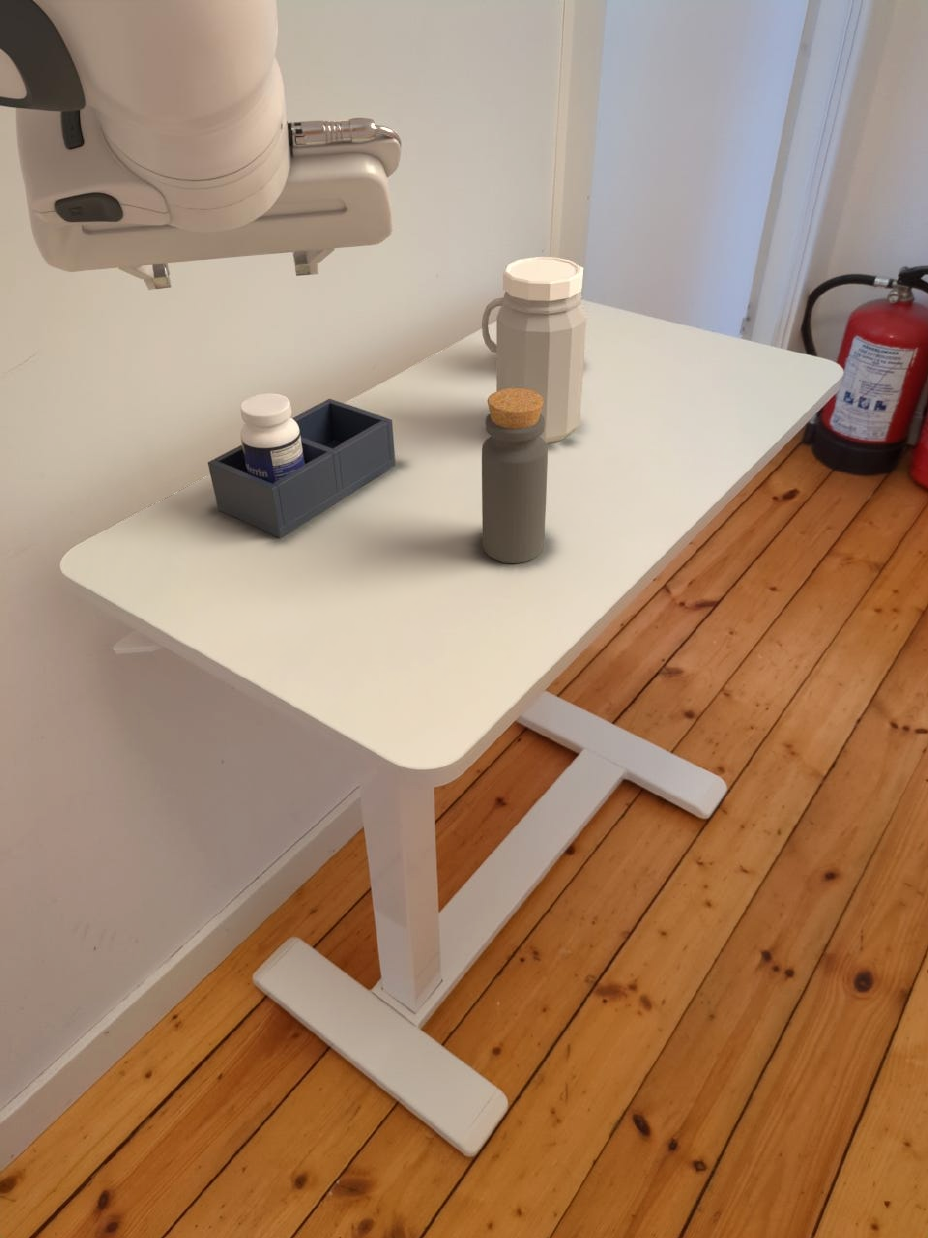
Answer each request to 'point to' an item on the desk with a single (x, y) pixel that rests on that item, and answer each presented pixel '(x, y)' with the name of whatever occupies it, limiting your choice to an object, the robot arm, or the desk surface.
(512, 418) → the bottle
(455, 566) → the desk surface
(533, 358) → the jar
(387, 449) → the rack
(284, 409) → the pill bottle
